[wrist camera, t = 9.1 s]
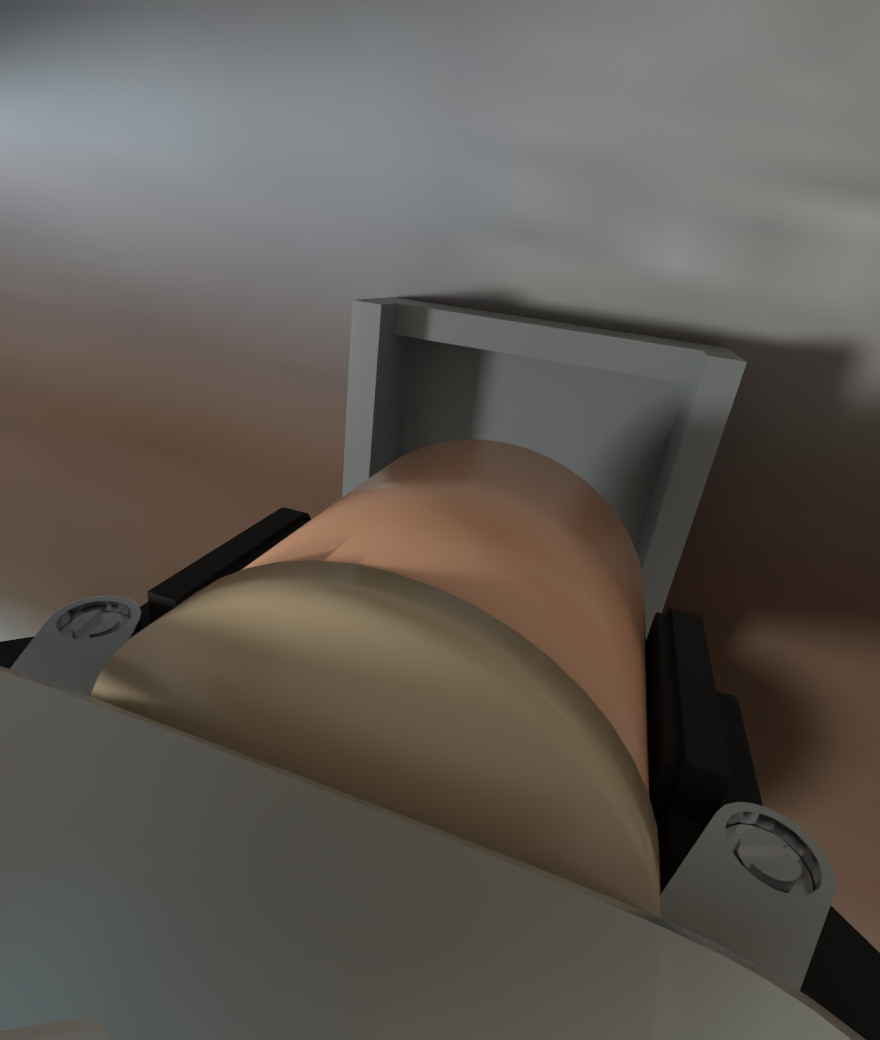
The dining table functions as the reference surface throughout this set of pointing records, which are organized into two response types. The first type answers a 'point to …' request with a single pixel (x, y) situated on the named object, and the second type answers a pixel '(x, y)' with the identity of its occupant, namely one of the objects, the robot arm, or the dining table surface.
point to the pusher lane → (547, 408)
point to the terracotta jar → (436, 661)
